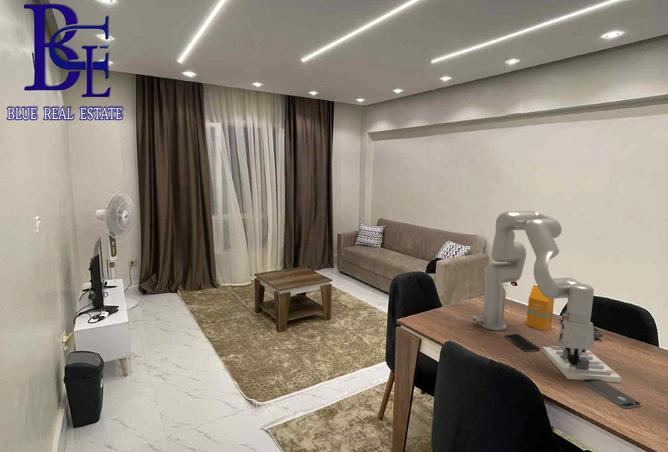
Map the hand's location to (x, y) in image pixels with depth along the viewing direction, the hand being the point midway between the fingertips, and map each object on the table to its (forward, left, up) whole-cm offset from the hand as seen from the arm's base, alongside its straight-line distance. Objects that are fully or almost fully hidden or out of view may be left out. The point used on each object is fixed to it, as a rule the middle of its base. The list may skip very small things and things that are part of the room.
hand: (572, 363), depth 136 cm
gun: (+24, +42, -5) cm, 49 cm away
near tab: (+3, 0, -2) cm, 4 cm away
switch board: (+6, +7, -4) cm, 10 cm away
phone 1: (-9, +24, -5) cm, 26 cm away
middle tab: (+2, +7, -2) cm, 8 cm away
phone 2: (+7, -11, -5) cm, 14 cm away
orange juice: (+7, +45, -5) cm, 46 cm away
